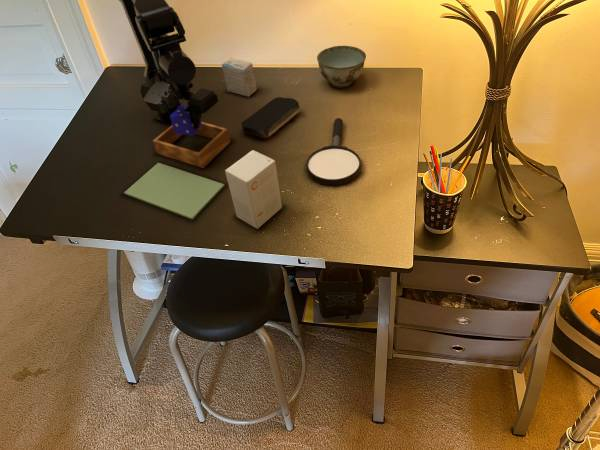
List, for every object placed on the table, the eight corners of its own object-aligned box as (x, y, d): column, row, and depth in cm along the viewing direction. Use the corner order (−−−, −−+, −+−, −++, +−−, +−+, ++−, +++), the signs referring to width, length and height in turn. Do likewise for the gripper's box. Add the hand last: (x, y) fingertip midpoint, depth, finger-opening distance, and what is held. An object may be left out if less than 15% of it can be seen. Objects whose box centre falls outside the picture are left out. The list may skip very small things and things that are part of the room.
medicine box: (257, 90, 134) (252, 62, 128) (248, 97, 132) (243, 69, 126) (236, 84, 138) (230, 57, 131) (226, 91, 135) (221, 64, 129)
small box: (261, 196, 102) (252, 148, 93) (282, 207, 99) (276, 159, 90) (235, 217, 98) (223, 169, 89) (257, 230, 95) (247, 182, 86)
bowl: (313, 93, 131) (312, 66, 125) (322, 70, 140) (321, 44, 134) (361, 95, 128) (362, 68, 122) (367, 72, 137) (368, 45, 131)
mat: (124, 194, 106) (123, 192, 106) (158, 164, 113) (158, 162, 113) (192, 220, 99) (191, 218, 98) (224, 186, 106) (224, 184, 105)
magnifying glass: (363, 125, 118) (363, 117, 117) (359, 187, 102) (359, 179, 100) (314, 124, 120) (314, 117, 118) (304, 185, 104) (303, 178, 102)
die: (202, 124, 114) (197, 106, 110) (193, 136, 111) (188, 118, 107) (184, 122, 115) (179, 104, 112) (174, 133, 112) (169, 116, 108)
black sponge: (265, 144, 116) (263, 131, 113) (240, 134, 119) (237, 122, 117) (303, 112, 124) (302, 100, 122) (278, 104, 128) (277, 92, 126)
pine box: (157, 153, 116) (152, 140, 113) (186, 129, 123) (182, 116, 120) (203, 168, 111) (199, 155, 108) (230, 141, 118) (227, 128, 115)
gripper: (112, 75, 100) (136, 134, 111) (179, 91, 93) (197, 153, 104) (147, 52, 106) (166, 111, 117) (212, 66, 99) (225, 127, 110)
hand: (187, 125), depth 112 cm, fingers closed on die, 5 cm apart
